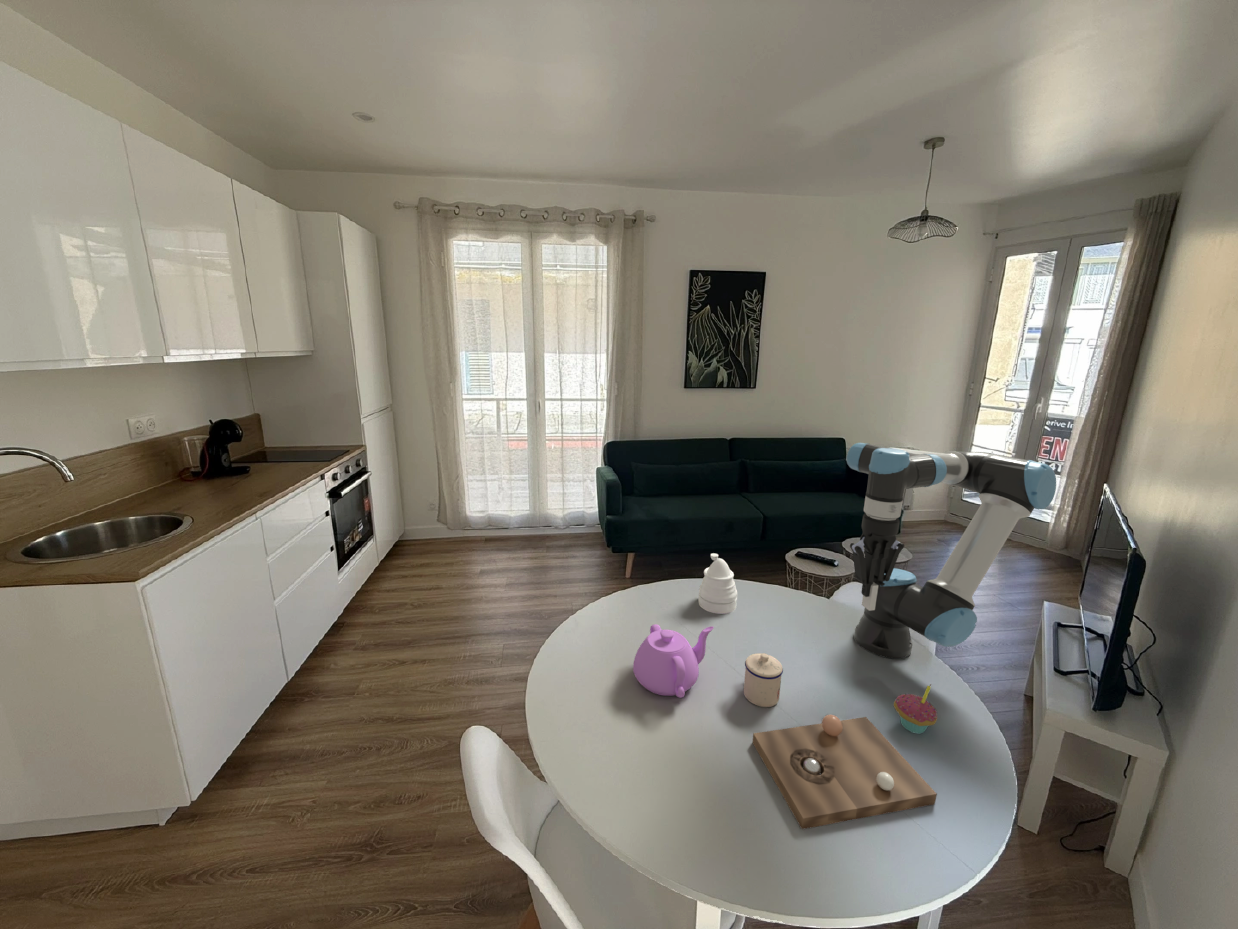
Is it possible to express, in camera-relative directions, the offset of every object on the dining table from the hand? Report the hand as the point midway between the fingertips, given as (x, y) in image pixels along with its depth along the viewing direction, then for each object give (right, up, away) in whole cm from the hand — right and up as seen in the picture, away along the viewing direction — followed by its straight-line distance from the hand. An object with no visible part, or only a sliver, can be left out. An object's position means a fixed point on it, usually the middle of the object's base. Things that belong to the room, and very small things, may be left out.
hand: (868, 607), depth 116 cm
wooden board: (-15, -29, -17) cm, 37 cm away
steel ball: (-21, -27, -18) cm, 39 cm away
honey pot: (-27, -13, +48) cm, 57 cm away
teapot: (-46, -22, +11) cm, 52 cm away
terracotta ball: (-14, -23, -11) cm, 29 cm away
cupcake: (+8, -27, -5) cm, 28 cm away
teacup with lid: (-25, -24, +6) cm, 35 cm away
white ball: (-9, -27, -24) cm, 37 cm away
